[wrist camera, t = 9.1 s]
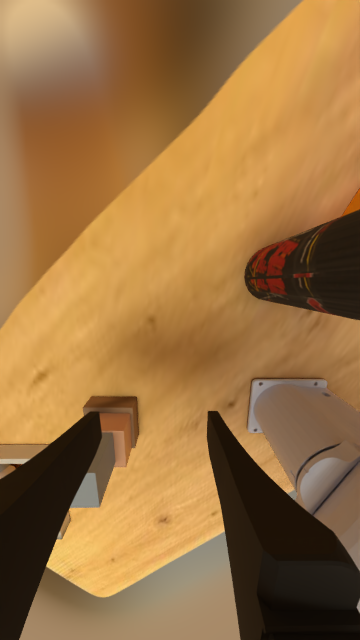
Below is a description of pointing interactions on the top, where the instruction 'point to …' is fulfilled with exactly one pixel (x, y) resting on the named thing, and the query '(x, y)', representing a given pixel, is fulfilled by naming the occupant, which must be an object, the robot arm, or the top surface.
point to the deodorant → (312, 269)
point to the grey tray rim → (20, 456)
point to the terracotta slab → (118, 435)
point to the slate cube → (97, 475)
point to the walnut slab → (116, 410)
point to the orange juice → (353, 204)
